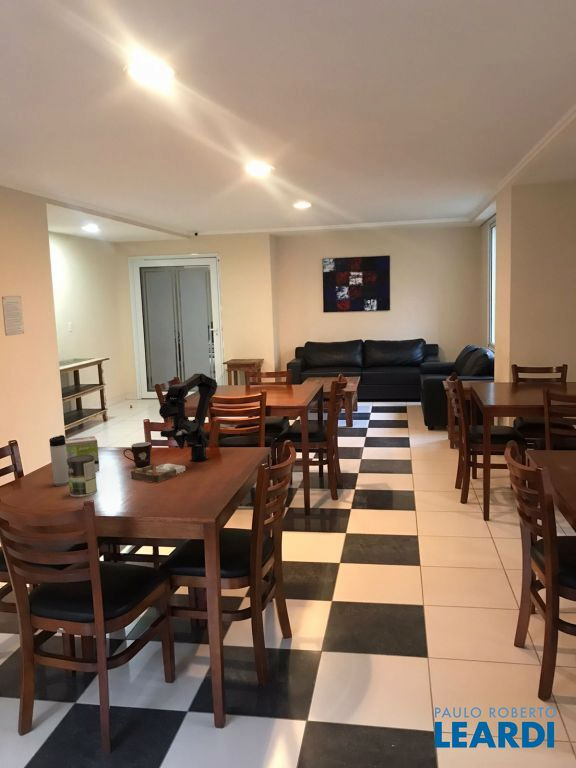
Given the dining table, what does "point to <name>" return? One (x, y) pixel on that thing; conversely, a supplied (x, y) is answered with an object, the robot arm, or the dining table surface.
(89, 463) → the coffee can
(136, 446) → the coffee mug
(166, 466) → the door panel
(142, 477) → the cabinet frame
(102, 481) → the dining table surface
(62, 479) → the travel mug
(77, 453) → the tea box
